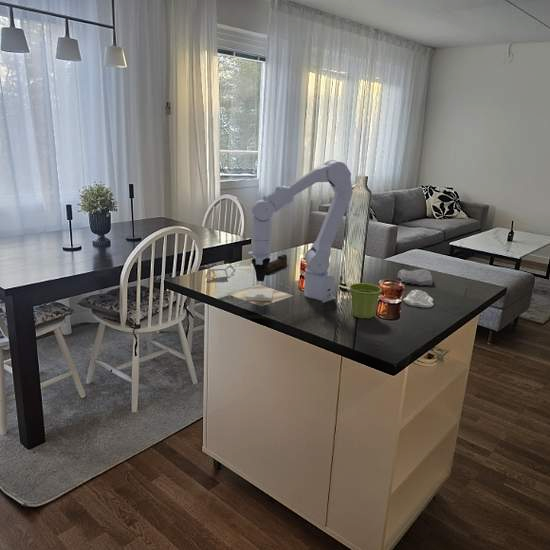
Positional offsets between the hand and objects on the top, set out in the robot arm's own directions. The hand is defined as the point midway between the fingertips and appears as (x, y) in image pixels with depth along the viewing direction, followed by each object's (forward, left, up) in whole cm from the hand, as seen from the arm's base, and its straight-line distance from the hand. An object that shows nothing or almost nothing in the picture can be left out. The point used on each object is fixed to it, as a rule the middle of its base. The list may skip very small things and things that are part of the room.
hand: (260, 280), depth 154 cm
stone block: (-25, -57, -6) cm, 62 cm away
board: (0, 0, -6) cm, 6 cm away
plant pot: (-32, -12, -6) cm, 34 cm away
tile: (+1, -2, -4) cm, 5 cm away
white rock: (-37, -35, -6) cm, 52 cm away
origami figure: (+24, -5, -6) cm, 25 cm away
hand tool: (+22, -30, -6) cm, 37 cm away
